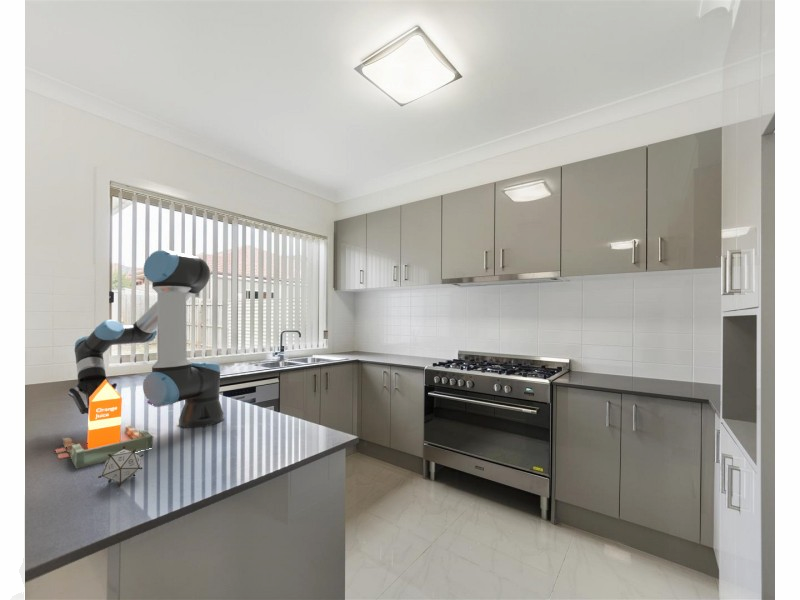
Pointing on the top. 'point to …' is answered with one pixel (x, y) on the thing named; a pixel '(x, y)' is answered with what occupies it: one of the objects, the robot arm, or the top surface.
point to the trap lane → (108, 448)
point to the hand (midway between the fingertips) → (98, 428)
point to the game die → (121, 465)
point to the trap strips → (61, 454)
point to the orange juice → (104, 416)
